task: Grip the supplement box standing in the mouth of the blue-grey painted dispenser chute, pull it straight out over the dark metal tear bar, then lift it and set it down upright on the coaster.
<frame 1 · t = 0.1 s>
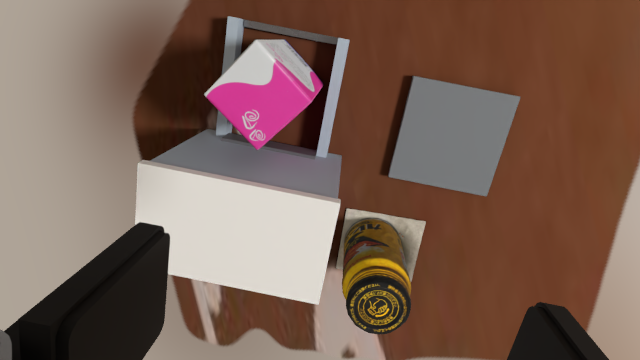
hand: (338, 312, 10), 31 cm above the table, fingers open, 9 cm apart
supplement box: (283, 82, 39), on the table
dispenser: (268, 178, 42), on the table
coaster: (449, 136, 40), on the table
tear bar: (291, 32, 38), on the table
condiment: (379, 243, 44), on the table
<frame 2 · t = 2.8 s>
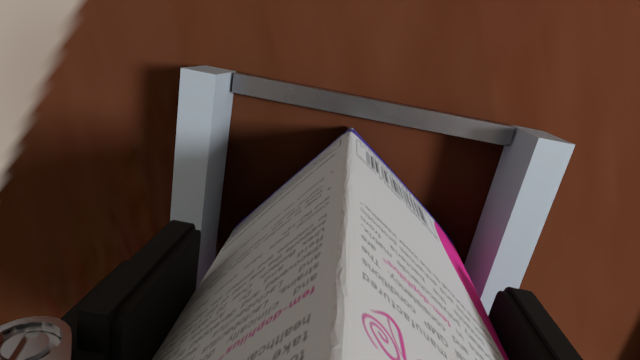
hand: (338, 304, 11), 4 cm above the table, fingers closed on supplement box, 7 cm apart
supplement box: (342, 234, 15), on the table, touching gripper
tear bar: (370, 107, 13), on the table
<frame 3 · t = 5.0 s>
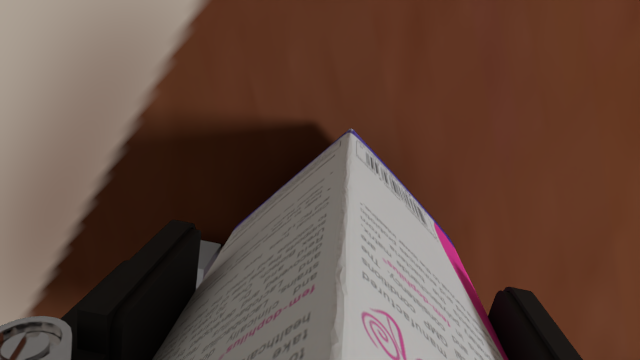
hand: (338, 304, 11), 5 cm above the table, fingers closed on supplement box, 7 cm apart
supplement box: (342, 235, 15), point 1 cm above the table, touching gripper
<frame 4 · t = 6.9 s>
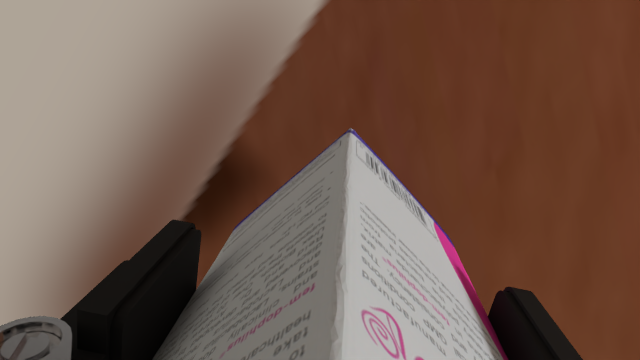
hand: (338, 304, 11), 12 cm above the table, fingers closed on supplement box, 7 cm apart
supplement box: (342, 234, 15), point 7 cm above the table, touching gripper
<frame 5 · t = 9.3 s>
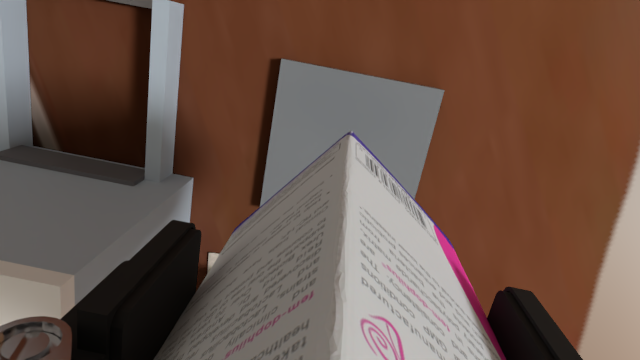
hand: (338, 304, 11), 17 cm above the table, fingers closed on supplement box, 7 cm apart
supplement box: (341, 237, 15), point 13 cm above the table, touching gripper
dispenser: (95, 210, 29), on the table
coaster: (346, 150, 27), on the table
when the fingers open (6 cm above the table, at t = 11.3 s): supplement box drops 1 cm, resting on coaster.
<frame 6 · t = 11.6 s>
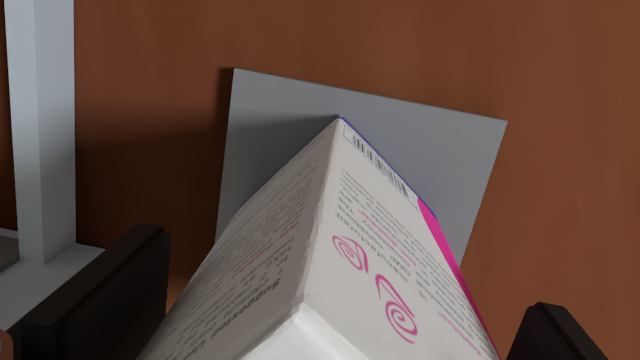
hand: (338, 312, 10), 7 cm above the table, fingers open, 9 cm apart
supplement box: (336, 213, 16), point 1 cm above the table, touching coaster
coaster: (343, 212, 17), on the table
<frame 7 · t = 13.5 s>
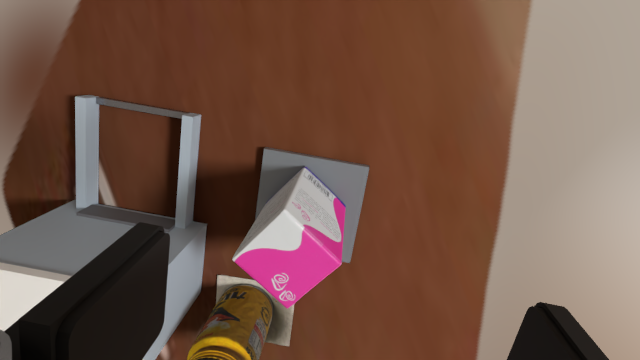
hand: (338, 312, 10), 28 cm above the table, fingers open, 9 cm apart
supplement box: (305, 205, 39), point 1 cm above the table, touching coaster
dispenser: (139, 246, 43), on the table
coaster: (309, 205, 40), on the table
tear bar: (144, 107, 38), on the table
condiment: (254, 308, 44), on the table
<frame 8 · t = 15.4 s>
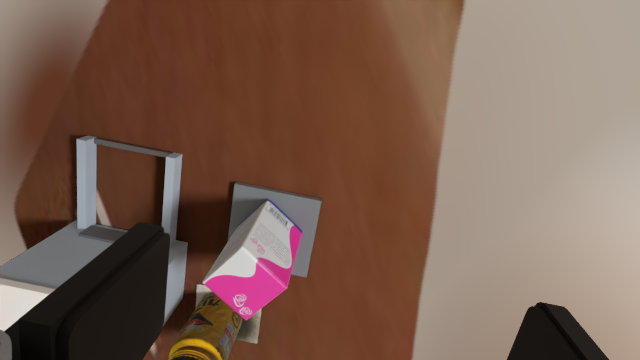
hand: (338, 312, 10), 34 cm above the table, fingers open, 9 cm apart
supplement box: (269, 229, 47), point 1 cm above the table, touching coaster
dispenser: (130, 259, 50), on the table
coaster: (272, 229, 48), on the table
tear bar: (135, 147, 46), on the table
condiment: (228, 312, 52), on the table
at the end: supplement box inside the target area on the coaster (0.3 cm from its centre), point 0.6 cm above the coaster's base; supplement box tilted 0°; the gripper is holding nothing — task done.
